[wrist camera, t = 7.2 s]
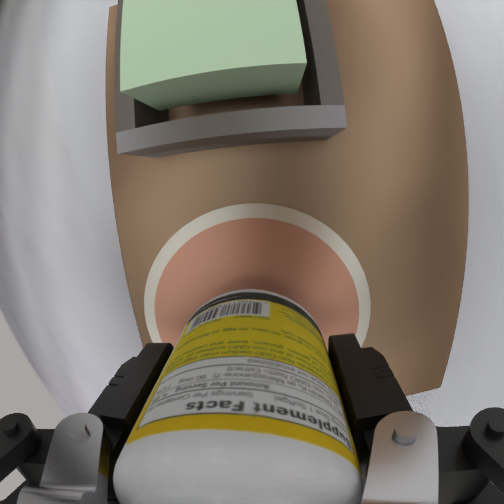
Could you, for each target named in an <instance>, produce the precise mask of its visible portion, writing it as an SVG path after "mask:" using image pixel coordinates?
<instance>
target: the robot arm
mask: <svg viewBox="0 0 504 504" xmlns="http://www.w3.org/2000/svg"><path fill="white" fill-rule="evenodd" d="M173 349H174V347H173V345H172V344H171V343H150V342H149V343H147V344H146V345H145V346H144V348H143V349H142V351H141V352H140V354H139V355H138V357H132V358H131V359H130V360H128V361H127V362H125V363H124V364H123V365H121V367H120V368H119V369H118V371H117V372H116V374H115V375H114V376H115V377H113V378H112V379H111V381H110V382H109V386H108V385H107V386H106V388H105V389H104V390H103V392H102V393H101V395H100V396H99V398H98V399H97V400H96V402H95V403H94V405H93V406H92V408H91V409H90V410H89V412H88V413H77V414H73V415H70V416H68V417H66V418H65V419H63V420H62V421H61V422H60V423H59V424H58V425H57V427H56V428H55V429H36V428H35V426H34V425H33V423H32V422H31V420H30V418H29V417H28V416H27V415H25V414H22V413H14V414H9V415H7V416H5V417H3V418H2V419H0V482H1V481H2V480H3V479H4V478H5V477H6V476H8V475H9V474H10V473H11V472H12V471H13V470H14V469H15V468H17V470H18V471H19V472H20V473H21V474H22V475H23V477H24V478H25V479H26V481H24V482H23V483H22V484H21V485H20V486H19V487H18V488H17V489H16V490H15V491H14V492H12V493H11V494H10V495H9V496H8V497H7V498H6V499H4V500H2V501H0V504H120V503H119V501H118V499H117V497H116V493H115V490H114V485H113V473H114V468H115V465H116V462H117V460H118V458H119V456H120V454H121V451H122V449H123V447H124V445H125V443H126V441H127V439H128V437H129V435H130V433H131V431H132V429H133V427H134V425H135V423H136V421H137V419H138V417H139V415H140V414H141V412H142V410H143V408H144V406H145V404H146V402H147V400H148V398H149V396H150V394H151V392H152V390H153V388H154V386H155V384H156V382H157V380H158V378H159V376H160V374H161V372H162V370H163V368H164V366H165V365H166V363H167V361H168V359H169V357H170V355H171V353H172V351H173ZM328 355H329V358H330V361H331V365H332V368H333V371H334V375H335V378H336V382H337V385H338V388H339V392H340V395H341V399H342V402H343V406H344V409H345V413H346V417H347V420H348V424H349V428H350V431H351V435H352V439H353V442H354V446H355V449H356V453H357V457H358V461H359V465H360V469H361V473H362V478H363V490H362V494H361V499H360V503H359V504H504V495H503V494H504V409H503V408H487V409H484V410H482V411H480V412H478V413H477V414H476V415H475V416H474V418H473V419H472V421H471V424H470V426H459V427H437V426H435V424H434V423H433V422H432V420H430V419H429V418H428V417H427V416H425V415H423V414H421V413H418V412H414V411H413V410H412V408H411V406H410V404H409V402H408V400H407V398H406V396H405V395H404V393H403V391H402V389H401V387H400V385H399V383H398V381H397V379H396V378H395V377H394V374H393V372H392V370H391V368H389V365H388V363H387V361H386V359H385V357H384V355H382V354H381V353H380V352H378V351H377V350H375V349H374V348H373V347H366V348H361V347H360V345H359V343H358V340H357V338H356V336H355V334H354V333H349V334H340V335H331V336H329V339H328ZM491 482H492V483H493V484H494V485H495V486H496V487H497V488H498V489H499V490H500V491H501V492H502V493H503V494H502V493H501V492H500V491H499V490H498V489H497V488H496V487H495V486H494V485H493V484H492V483H491Z"/></svg>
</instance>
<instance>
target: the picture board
mask: <svg viewBox="0 0 504 504" xmlns="http://www.w3.org/2000/svg"><path fill="white" fill-rule="evenodd" d="M296 2H297V7H298V12H299V18H300V23H301V29H302V35H303V41H304V47H305V53H306V59H307V65H306V68H305V71H304V74H303V77H302V80H301V83H300V86H299V89H298V92H297V93H293V94H276V95H263V96H252V97H242V98H234V99H226V100H218V101H211V102H204V103H198V104H192V105H186V106H181V107H175V108H170V109H165V110H160V111H158V110H157V109H155V108H153V107H151V106H149V105H147V104H145V103H143V102H141V101H139V100H137V99H135V98H133V97H131V96H129V95H126V94H124V93H122V92H120V47H121V25H122V10H123V0H118V4H117V5H115V6H112V7H110V8H109V19H108V31H107V49H106V122H107V141H108V155H109V166H110V177H111V186H112V194H113V202H114V210H115V217H116V224H117V230H118V236H119V242H120V248H121V253H122V259H123V264H124V269H125V274H126V279H127V284H128V288H129V293H130V297H131V301H132V306H133V310H134V314H135V318H136V322H137V326H138V330H139V333H140V337H141V341H142V344H143V348H144V346H145V345H146V344H147V343H149V342H150V343H171V344H172V345H173V347H175V345H176V343H177V341H178V340H179V338H180V336H181V334H182V332H183V330H184V328H185V326H186V324H187V322H188V321H189V319H190V318H191V316H192V315H193V314H194V313H195V312H196V311H197V309H199V308H200V307H201V306H202V305H203V304H205V303H206V302H208V301H209V300H211V299H212V298H214V297H216V296H218V295H221V294H224V293H227V292H231V291H235V290H242V289H257V290H265V291H270V292H274V293H277V294H280V295H282V296H285V297H287V298H289V299H291V300H293V301H295V302H296V303H298V304H299V305H301V306H302V307H303V308H304V309H305V310H306V311H307V312H308V313H309V314H310V315H311V316H312V317H313V319H314V320H315V322H316V323H317V325H318V327H319V329H320V331H321V333H322V336H323V339H324V342H325V345H326V348H327V352H328V339H329V336H331V335H340V334H349V333H354V334H355V336H356V338H357V340H358V343H359V345H360V347H361V348H366V347H373V348H374V349H375V350H377V351H378V352H380V353H381V354H382V355H384V357H385V359H386V361H387V363H388V365H389V368H391V370H392V372H393V374H394V377H395V378H396V379H397V381H398V383H399V385H400V387H401V389H402V391H403V393H404V395H405V396H407V395H411V394H416V393H420V392H424V391H428V390H432V389H436V388H439V387H441V384H442V380H443V377H444V373H445V370H446V366H447V362H448V359H449V355H450V351H451V346H452V342H453V338H454V333H455V328H456V323H457V318H458V312H459V307H460V301H461V294H462V287H463V280H464V271H465V262H466V250H467V235H468V165H467V150H466V139H465V130H464V121H463V114H462V107H461V101H460V95H459V90H458V84H457V79H456V75H455V70H454V66H453V61H452V57H451V53H450V50H449V46H448V42H447V39H446V35H445V32H444V29H443V25H442V22H441V19H440V16H439V13H438V10H437V8H436V5H435V2H434V0H296Z"/></svg>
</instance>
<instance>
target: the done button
mask: <svg viewBox="0 0 504 504" xmlns="http://www.w3.org/2000/svg"><path fill="white" fill-rule="evenodd" d="M306 65H307V59H306V53H305V47H304V41H303V35H302V29H301V23H300V18H299V12H298V7H297V2H296V0H123V10H122V25H121V47H120V92H122V93H124V94H126V95H129V96H131V97H133V98H135V99H137V100H139V101H141V102H143V103H145V104H147V105H149V106H151V107H153V108H155V109H157V110H158V111H160V110H165V109H170V108H175V107H181V106H186V105H192V104H198V103H204V102H211V101H218V100H226V99H234V98H242V97H252V96H263V95H276V94H293V93H297V92H298V89H299V86H300V83H301V80H302V77H303V74H304V71H305V68H306Z"/></svg>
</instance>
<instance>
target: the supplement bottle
mask: <svg viewBox="0 0 504 504" xmlns="http://www.w3.org/2000/svg"><path fill="white" fill-rule="evenodd" d="M113 485H114V490H115V493H116V497H117V499H118V501H119V503H120V504H359V503H360V499H361V494H362V490H363V478H362V473H361V469H360V465H359V461H358V457H357V453H356V449H355V446H354V442H353V439H352V435H351V431H350V428H349V424H348V420H347V417H346V413H345V409H344V406H343V402H342V399H341V395H340V392H339V388H338V385H337V382H336V378H335V375H334V371H333V368H332V365H331V361H330V358H329V355H328V352H327V348H326V345H325V342H324V339H323V336H322V333H321V331H320V329H319V327H318V325H317V323H316V322H315V320H314V319H313V317H312V316H311V315H310V314H309V313H308V312H307V311H306V310H305V309H304V308H303V307H302V306H301V305H299V304H298V303H296V302H295V301H293V300H291V299H289V298H287V297H285V296H282V295H280V294H277V293H274V292H270V291H265V290H257V289H242V290H235V291H231V292H227V293H224V294H221V295H218V296H216V297H214V298H212V299H211V300H209V301H208V302H206V303H205V304H203V305H202V306H201V307H200V308H199V309H197V311H196V312H195V313H194V314H193V315H192V316H191V318H190V319H189V321H188V322H187V324H186V326H185V328H184V330H183V332H182V334H181V336H180V338H179V340H178V341H177V343H176V345H175V347H174V349H173V351H172V353H171V355H170V357H169V359H168V361H167V363H166V365H165V366H164V368H163V370H162V372H161V374H160V376H159V378H158V380H157V382H156V384H155V386H154V388H153V390H152V392H151V394H150V396H149V398H148V400H147V402H146V404H145V406H144V408H143V410H142V412H141V414H140V415H139V417H138V419H137V421H136V423H135V425H134V427H133V429H132V431H131V433H130V435H129V437H128V439H127V441H126V443H125V445H124V447H123V449H122V451H121V454H120V456H119V458H118V460H117V462H116V465H115V468H114V473H113Z"/></svg>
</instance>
